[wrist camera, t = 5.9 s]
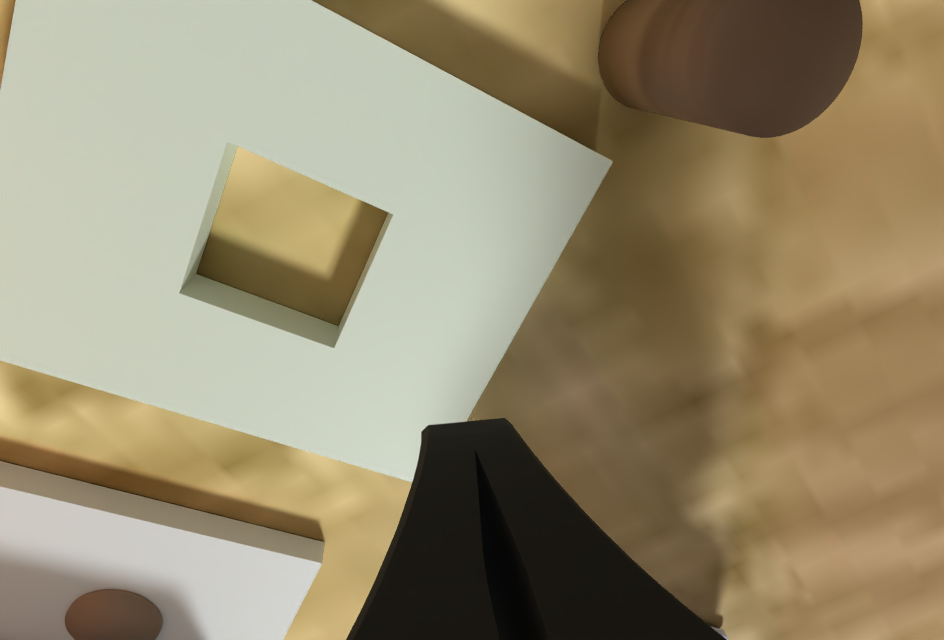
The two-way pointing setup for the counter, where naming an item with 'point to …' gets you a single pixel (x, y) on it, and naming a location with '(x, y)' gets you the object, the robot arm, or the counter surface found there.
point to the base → (139, 567)
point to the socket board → (198, 195)
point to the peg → (732, 60)
